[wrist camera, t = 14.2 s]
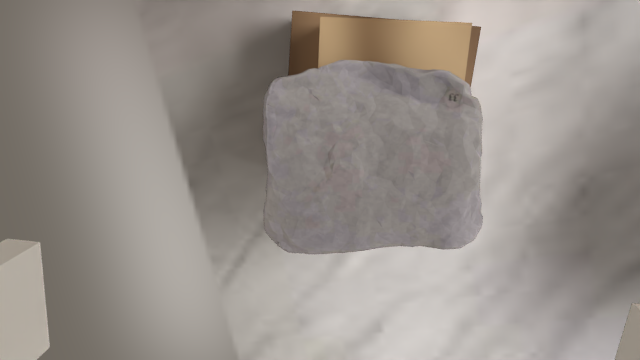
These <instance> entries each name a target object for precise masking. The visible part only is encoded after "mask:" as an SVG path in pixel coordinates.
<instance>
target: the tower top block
mask: <svg viewBox="0 0 640 360" xmlns="http://www.w3.org/2000/svg"><path fill="white" fill-rule="evenodd" d="M471 28H472V23H461V22H437V21H413V20H389V19H365V18H342V17H320V35H319V59H318V68H320V67H321V66H325V65H328V64H331V63H333V62H336V61H339V60H358V61H372V62H380V63H386V64H398V65H402V66H405V67H408V68H415V69H422V70H433V69H436V70H445V71H450V72H451V73H452V74H454V75H456V76H458V77H459V78H461V79H462V80H464V81H465V75H466V67H467V59H468V51H469V43H470V36H471Z"/></svg>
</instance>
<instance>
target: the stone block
mask: <svg viewBox="0 0 640 360" xmlns="http://www.w3.org/2000/svg"><path fill="white" fill-rule="evenodd" d="M263 120H264V124H263V141H264V144H265V147H266V161H267V165H268V178H267V186H266V202H265V206H264V229H265V231H266V233H267V234H268V236H269V237H270V238H271V239H272V240H273V241H274V242H275V243H276V244H277V245H278V246H279V247H281V248H282V249H284V250H285V251H287V252H292V253H306V254H329V253H345V252H355V251H364V250H369V249H375V248H382V247H392V246H409V247H414V246H425V247H432V248H438V249H456V248H462V247H463V246H465V245H466V244H468V243H470V242H471V241H473V240H474V239H475V237H476V236H477V234H478V232H479V230H480V228H481V226H482V219H483V216H482V214H481V199H480V168H481V155H482V142H481V134H482V120H483V118H482V112H481V106H480V103H479V101H478V99H477V98H475V97H473V96H472V94H471V88H470V85H469V84H468V83H467V82H465V81H464V80H462V79H461V78H459V77H458V76H456V75H454V74H452V73H451V72H450V71H445V70H436V69H433V70H422V69H415V68H408V67H405V66H402V65H398V64H386V63H380V62H372V61H358V60H339V61H336V62H333V63H331V64H328V65H325V66H321V67H320V68H312V69H307V70H306V71H304V72H302V73H300V74H297V75H290V76H286V77H278V78H276V79H274V80H273V82H272V83H271V84H270V85H269V88H268V90H267V92H266V94H265V97H264V106H263Z"/></svg>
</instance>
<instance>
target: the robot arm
mask: <svg viewBox="0 0 640 360" xmlns="http://www.w3.org/2000/svg"><path fill="white" fill-rule="evenodd" d="M49 347H50V344H49V333H48V322H47V312H46V301H45V290H44V280H43V268H42V258H41V247H40V242H33V241H24V240H14V239H6V240H4V241H2V242H0V360H37V359H38V358H39V357H40V356H41V355H42V354H43V353H44V352H45V351H46V350H47V349H48V348H49ZM615 360H640V304H637V303H632V304H631V308H630V311H629V314H628V318H627V321H626V324H625V327H624V331H623V334H622V337H621V341H620V344H619V347H618V351H617V354H616V357H615Z"/></svg>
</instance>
